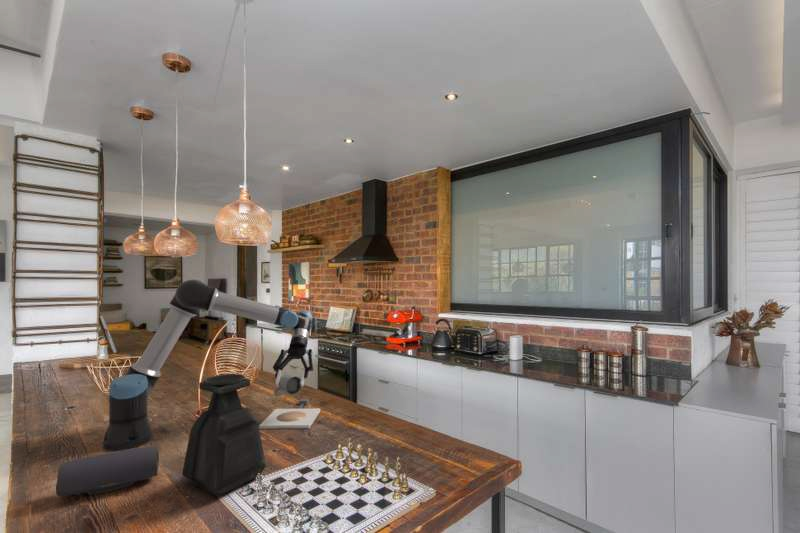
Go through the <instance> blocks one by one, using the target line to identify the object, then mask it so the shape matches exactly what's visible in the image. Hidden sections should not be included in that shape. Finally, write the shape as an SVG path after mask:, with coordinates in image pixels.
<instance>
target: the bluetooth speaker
mask: <svg viewBox="0 0 800 533" xmlns="http://www.w3.org/2000/svg"><path fill="white" fill-rule="evenodd" d="M159 454H160V453H159V445H151V446H150V445H149V446H141V447H134V448H128V449H123V450H115V451H111V452H107V453H101V454H96V455H90V456H86V457H82V458H81V457H80V458H76V459H73V460H68V461H65V462H62V463H60V465H59V467H58V470H57V478H56V485H55V493H56V496H57V497H64V496H72V495H77V494H83V493H87V495H90V496H91V495H97V494H102V493H107V492H106V491H108V492H111V491H110V490H112V491H116V490H115V489H117V490H120V489H119V488H121V489H124V488H123V487H125V488H128V487H131V486H133V484H134V483H135V482H139V481H143V480H147V479H149V478H150V479H151V478H153V477H156V476H158V472H159V465H160V464H159V461H160V458H159V456H160V455H159Z"/></svg>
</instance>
